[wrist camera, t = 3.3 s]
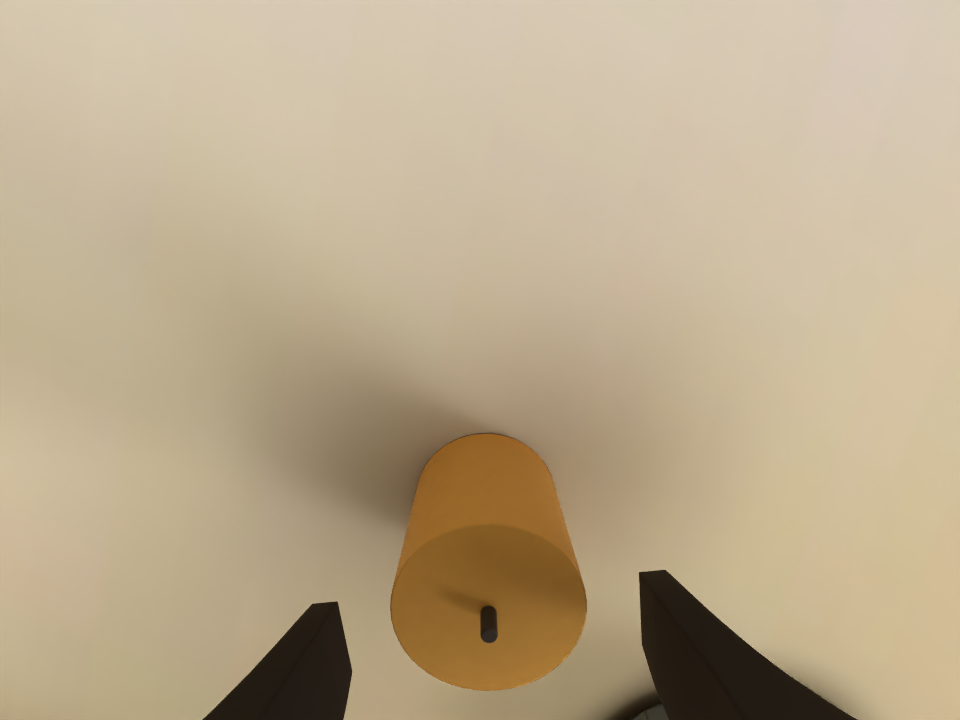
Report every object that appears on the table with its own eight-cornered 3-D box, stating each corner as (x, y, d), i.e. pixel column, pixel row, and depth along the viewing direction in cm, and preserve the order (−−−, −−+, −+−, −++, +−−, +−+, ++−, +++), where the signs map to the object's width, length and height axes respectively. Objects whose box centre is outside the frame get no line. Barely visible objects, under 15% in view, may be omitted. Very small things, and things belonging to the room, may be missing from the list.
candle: (427, 564, 18) (400, 729, 12) (407, 441, 17) (367, 555, 11) (559, 550, 18) (600, 711, 12) (548, 425, 17) (588, 533, 11)
